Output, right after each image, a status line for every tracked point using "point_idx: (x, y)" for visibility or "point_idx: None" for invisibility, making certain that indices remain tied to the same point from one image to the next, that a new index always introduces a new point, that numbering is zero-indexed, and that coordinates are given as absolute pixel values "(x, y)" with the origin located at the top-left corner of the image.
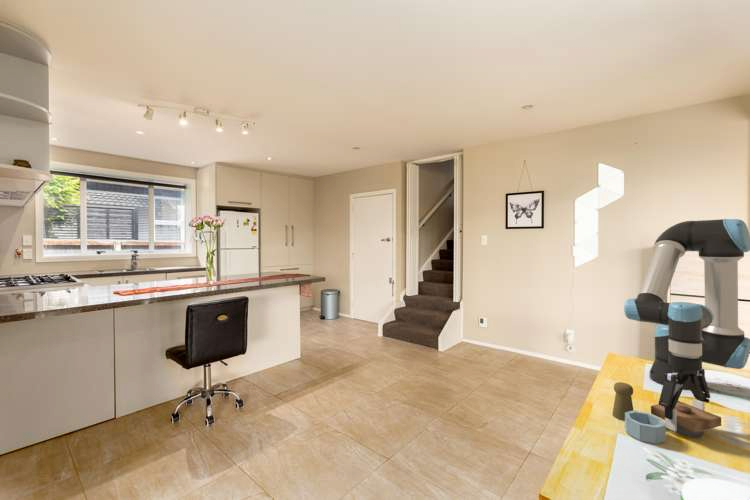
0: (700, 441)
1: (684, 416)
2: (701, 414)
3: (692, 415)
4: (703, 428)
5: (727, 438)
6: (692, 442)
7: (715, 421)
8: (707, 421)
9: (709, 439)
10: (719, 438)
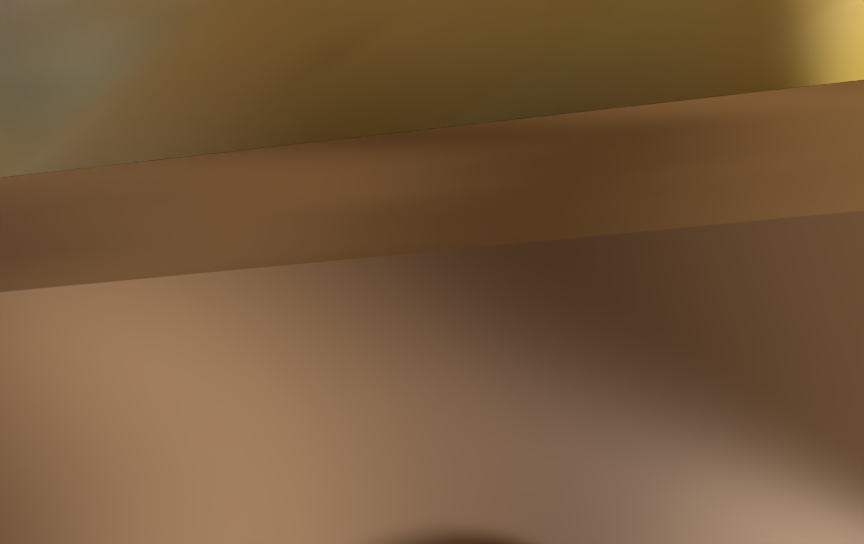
0: (655, 36)
1: (848, 539)
2: (255, 511)
3: (569, 527)
4: (660, 129)
5: (12, 8)
6: (854, 42)
7: (108, 238)
8: (492, 234)
9: (401, 54)
10: (170, 41)
